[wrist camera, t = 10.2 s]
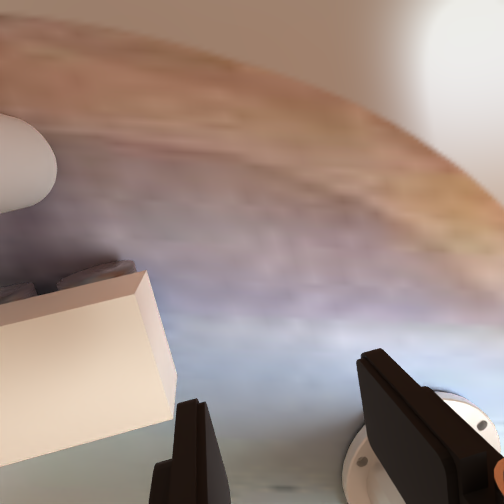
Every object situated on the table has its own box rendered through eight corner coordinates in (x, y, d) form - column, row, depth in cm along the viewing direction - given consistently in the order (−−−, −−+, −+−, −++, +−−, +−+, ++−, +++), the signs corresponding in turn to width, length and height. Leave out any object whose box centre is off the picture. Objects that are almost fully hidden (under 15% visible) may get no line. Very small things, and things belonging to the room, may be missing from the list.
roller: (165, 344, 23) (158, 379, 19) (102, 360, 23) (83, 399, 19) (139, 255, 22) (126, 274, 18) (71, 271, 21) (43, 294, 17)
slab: (177, 375, 19) (173, 419, 16) (-59, 437, 18) (-117, 499, 15) (146, 270, 18) (134, 294, 14) (-113, 331, 17) (-192, 372, 13)
